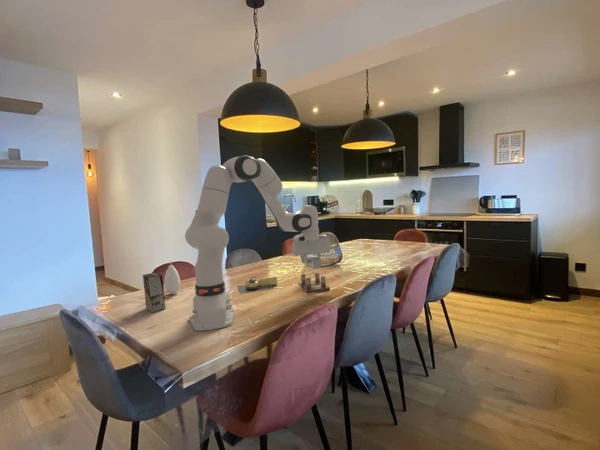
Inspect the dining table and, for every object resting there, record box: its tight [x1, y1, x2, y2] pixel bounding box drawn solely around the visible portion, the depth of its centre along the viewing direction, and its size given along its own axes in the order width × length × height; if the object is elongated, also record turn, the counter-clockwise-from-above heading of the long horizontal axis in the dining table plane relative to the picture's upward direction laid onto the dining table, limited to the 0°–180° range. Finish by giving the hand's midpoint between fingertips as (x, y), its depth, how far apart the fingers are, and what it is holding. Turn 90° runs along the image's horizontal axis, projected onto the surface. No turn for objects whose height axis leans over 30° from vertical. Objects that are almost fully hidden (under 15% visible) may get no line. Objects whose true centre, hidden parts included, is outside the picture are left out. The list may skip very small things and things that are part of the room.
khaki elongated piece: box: [244, 276, 278, 289], centre depth 174 cm, size 17×8×4 cm, turn 107°
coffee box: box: [142, 272, 166, 313], centre depth 149 cm, size 9×6×16 cm
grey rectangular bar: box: [300, 254, 322, 270], centre depth 171 cm, size 21×6×5 cm, turn 17°
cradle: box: [297, 272, 331, 294], centre depth 170 cm, size 16×12×6 cm
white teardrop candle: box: [164, 260, 181, 295], centre depth 172 cm, size 8×8×18 cm
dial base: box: [236, 284, 275, 295], centre depth 173 cm, size 16×18×1 cm
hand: (312, 262), depth 169 cm, fingers closed on grey rectangular bar, 4 cm apart
